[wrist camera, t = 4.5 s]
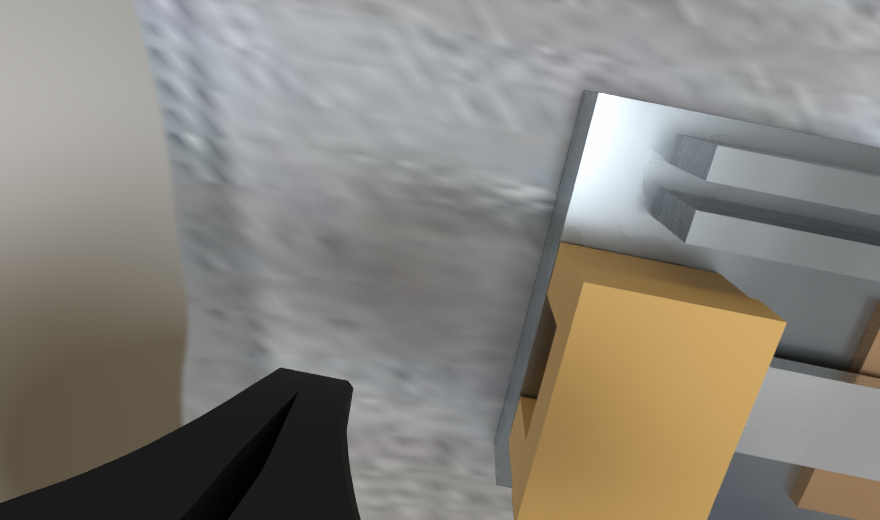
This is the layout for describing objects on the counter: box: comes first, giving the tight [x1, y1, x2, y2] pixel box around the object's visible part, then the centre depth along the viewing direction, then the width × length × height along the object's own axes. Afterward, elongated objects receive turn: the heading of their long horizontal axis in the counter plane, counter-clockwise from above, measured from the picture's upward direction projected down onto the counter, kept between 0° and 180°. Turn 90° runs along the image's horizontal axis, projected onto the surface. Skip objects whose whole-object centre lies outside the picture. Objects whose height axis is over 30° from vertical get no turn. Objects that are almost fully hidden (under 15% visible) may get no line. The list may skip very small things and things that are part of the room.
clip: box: [509, 242, 787, 520], centre depth 14 cm, size 6×4×3 cm, turn 169°
